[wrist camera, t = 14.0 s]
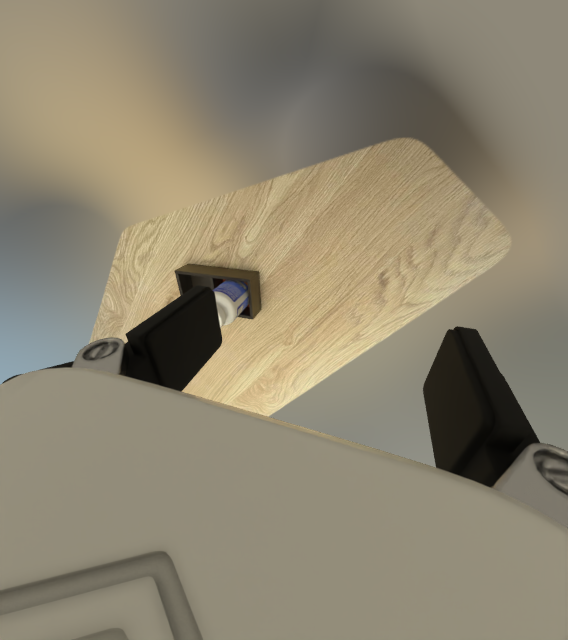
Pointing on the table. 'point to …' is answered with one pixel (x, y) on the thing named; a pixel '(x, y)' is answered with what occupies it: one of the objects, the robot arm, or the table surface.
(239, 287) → the pill bottle
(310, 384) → the table surface
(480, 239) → the table surface
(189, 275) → the brown wooden tray
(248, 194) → the table surface
